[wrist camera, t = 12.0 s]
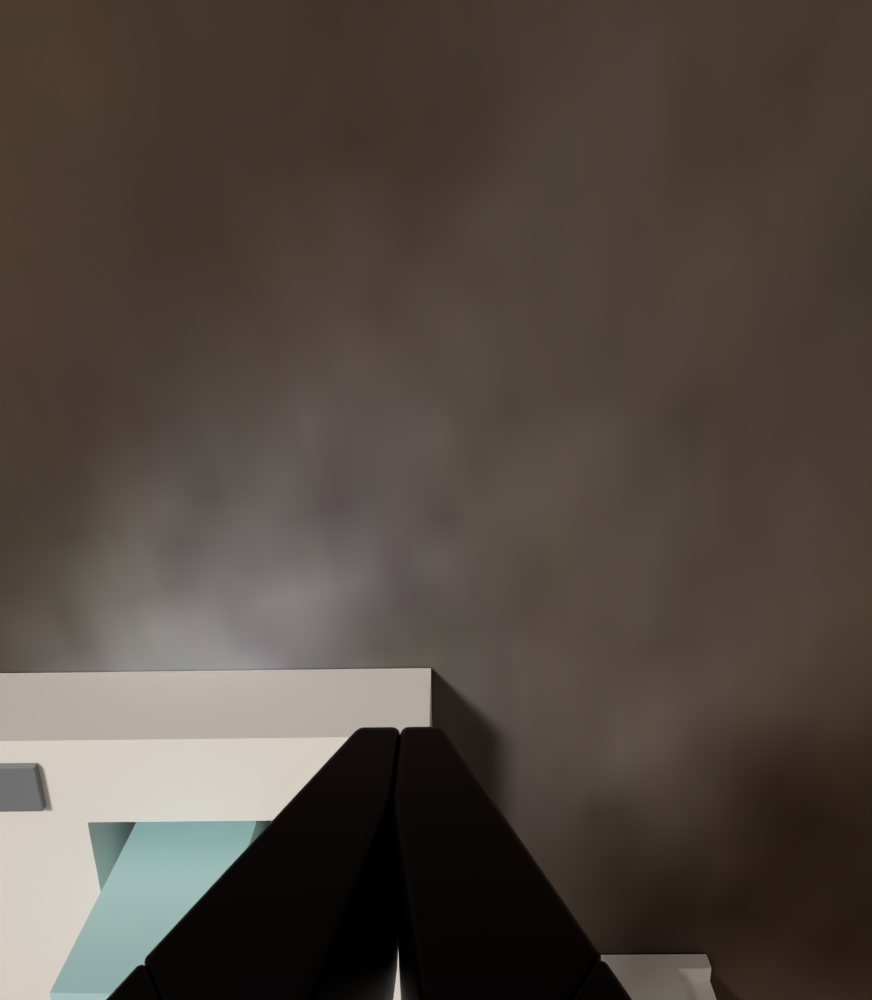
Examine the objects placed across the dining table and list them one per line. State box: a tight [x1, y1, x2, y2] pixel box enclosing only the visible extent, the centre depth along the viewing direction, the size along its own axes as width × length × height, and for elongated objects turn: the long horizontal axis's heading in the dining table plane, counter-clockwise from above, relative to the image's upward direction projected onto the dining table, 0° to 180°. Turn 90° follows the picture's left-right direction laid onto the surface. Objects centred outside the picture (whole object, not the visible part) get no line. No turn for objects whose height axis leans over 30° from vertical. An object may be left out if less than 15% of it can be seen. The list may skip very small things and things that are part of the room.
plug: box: [50, 821, 271, 1000], centre depth 19 cm, size 3×4×8 cm
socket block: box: [0, 668, 432, 1000], centre depth 22 cm, size 12×10×3 cm
